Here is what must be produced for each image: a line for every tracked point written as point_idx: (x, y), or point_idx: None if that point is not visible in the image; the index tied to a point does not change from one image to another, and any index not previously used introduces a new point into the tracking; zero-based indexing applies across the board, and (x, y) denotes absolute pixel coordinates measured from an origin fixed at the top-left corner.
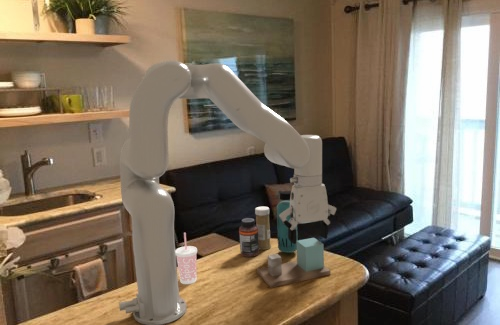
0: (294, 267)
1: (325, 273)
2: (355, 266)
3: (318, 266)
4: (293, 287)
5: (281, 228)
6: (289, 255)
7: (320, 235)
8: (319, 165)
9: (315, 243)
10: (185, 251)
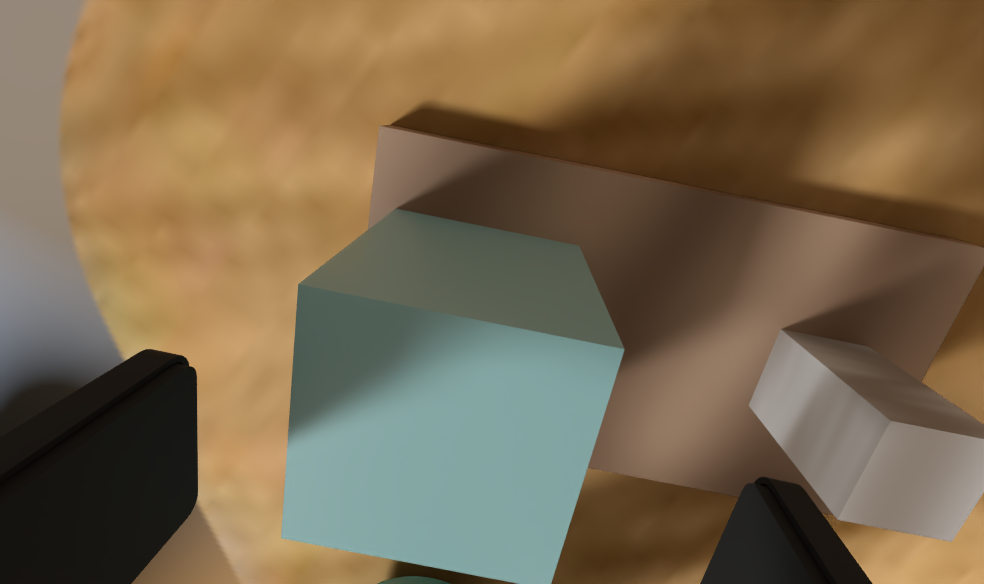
0: None
1: (436, 135)
2: (99, 115)
3: (449, 224)
4: (819, 123)
5: None
6: None
7: (193, 492)
8: None
9: (392, 374)
10: None
